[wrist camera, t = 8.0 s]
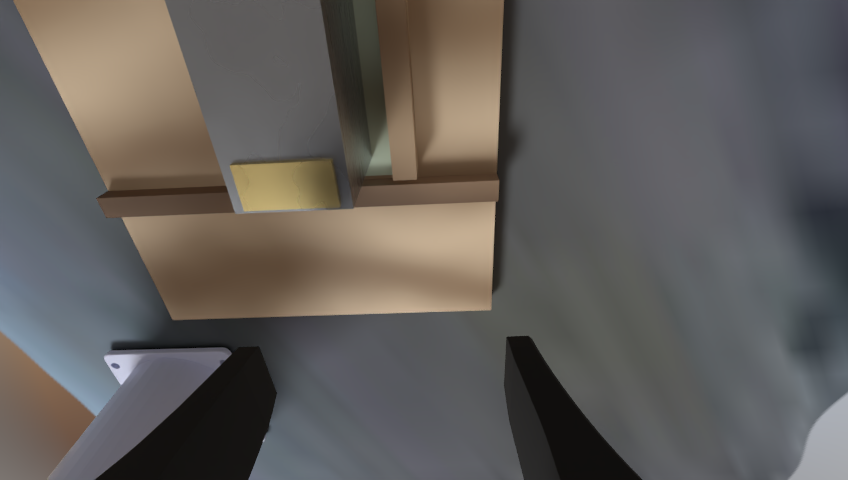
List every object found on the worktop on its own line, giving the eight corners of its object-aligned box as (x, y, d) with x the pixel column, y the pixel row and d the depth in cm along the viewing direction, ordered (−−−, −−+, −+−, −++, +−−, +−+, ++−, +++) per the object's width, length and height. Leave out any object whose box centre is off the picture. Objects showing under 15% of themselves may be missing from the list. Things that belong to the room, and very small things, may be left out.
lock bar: (231, -46, 14) (139, -65, 10) (345, -54, 14) (306, -77, 9) (282, 161, 18) (233, 215, 13) (372, 157, 18) (352, 210, 13)
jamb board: (488, 298, 23) (494, 329, 21) (182, 308, 24) (157, 339, 22) (503, -113, 14) (517, -133, 12) (0, -76, 15) (-75, -89, 12)
